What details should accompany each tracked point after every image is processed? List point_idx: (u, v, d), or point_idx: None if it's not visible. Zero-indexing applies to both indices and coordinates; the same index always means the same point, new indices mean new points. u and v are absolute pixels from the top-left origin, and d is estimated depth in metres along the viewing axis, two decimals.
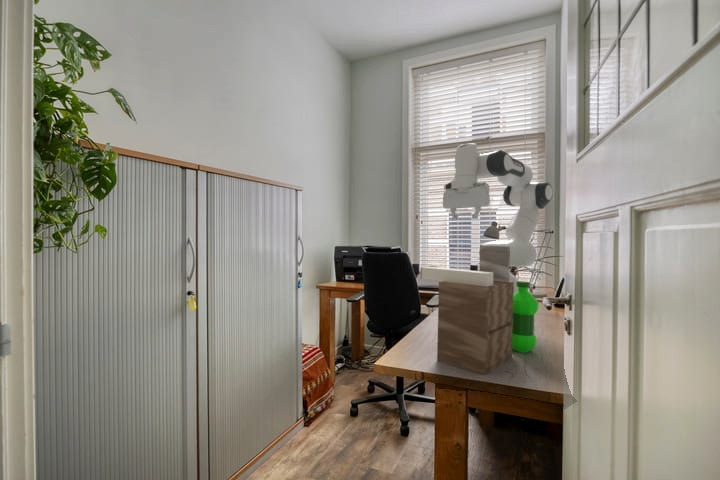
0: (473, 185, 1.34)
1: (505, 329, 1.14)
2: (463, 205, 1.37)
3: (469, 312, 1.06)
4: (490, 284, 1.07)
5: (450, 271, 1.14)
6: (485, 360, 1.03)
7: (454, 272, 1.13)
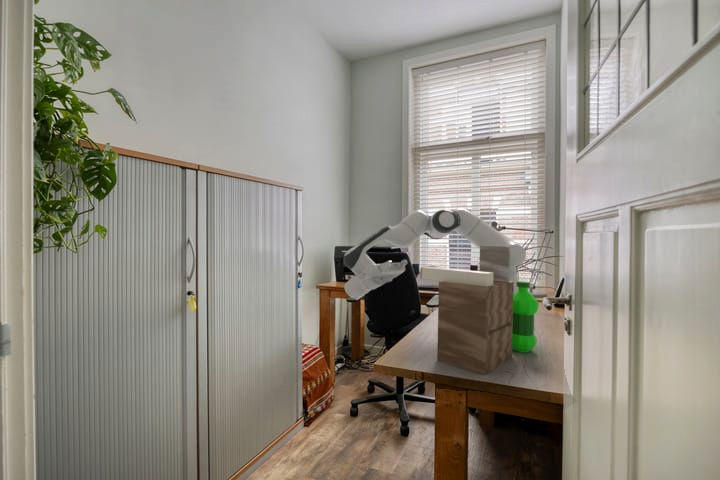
0: (369, 278, 1.36)
1: (505, 329, 1.14)
2: (389, 272, 1.33)
3: (469, 312, 1.06)
4: (490, 284, 1.07)
5: (450, 271, 1.14)
6: (485, 360, 1.03)
7: (454, 272, 1.13)
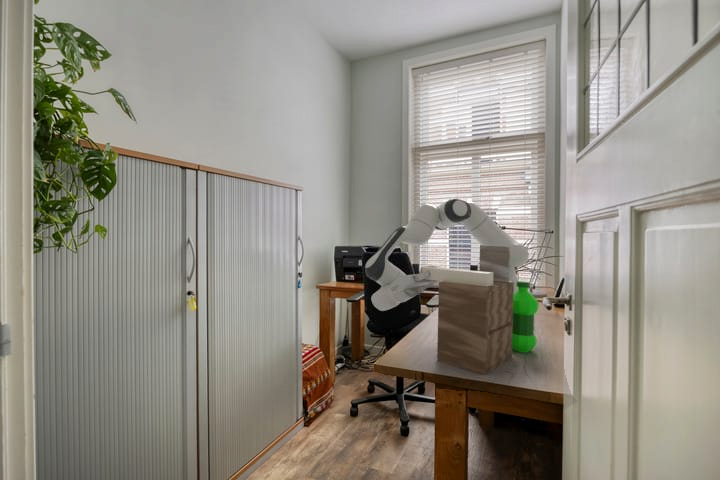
0: None
1: (505, 329, 1.14)
2: (423, 283, 1.23)
3: (469, 312, 1.06)
4: (490, 284, 1.07)
5: (450, 271, 1.14)
6: (485, 360, 1.03)
7: (454, 272, 1.13)
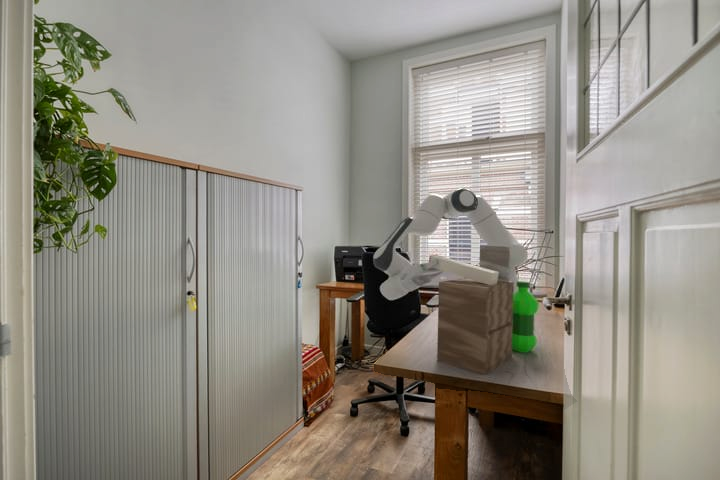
0: (409, 279, 1.29)
1: (505, 329, 1.14)
2: (431, 271, 1.26)
3: (469, 312, 1.06)
4: (493, 283, 1.10)
5: (457, 264, 1.17)
6: (485, 360, 1.03)
7: (461, 266, 1.16)
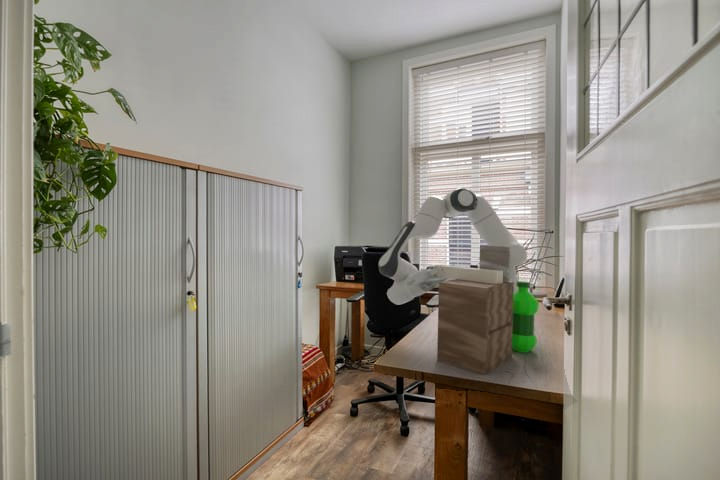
0: None
1: (505, 329, 1.14)
2: (438, 277, 1.30)
3: (469, 312, 1.06)
4: (499, 282, 1.13)
5: (462, 269, 1.21)
6: (485, 360, 1.03)
7: (466, 270, 1.20)
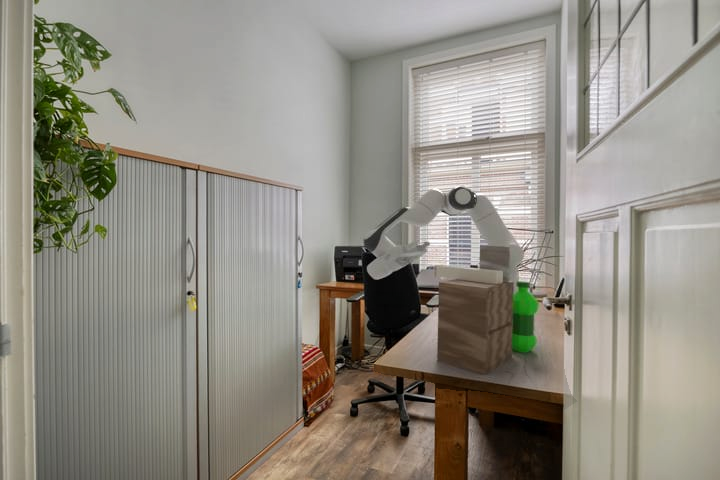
0: None
1: (505, 329, 1.14)
2: (413, 253, 1.38)
3: (469, 312, 1.06)
4: (499, 282, 1.13)
5: (462, 269, 1.21)
6: (485, 360, 1.03)
7: (466, 270, 1.20)
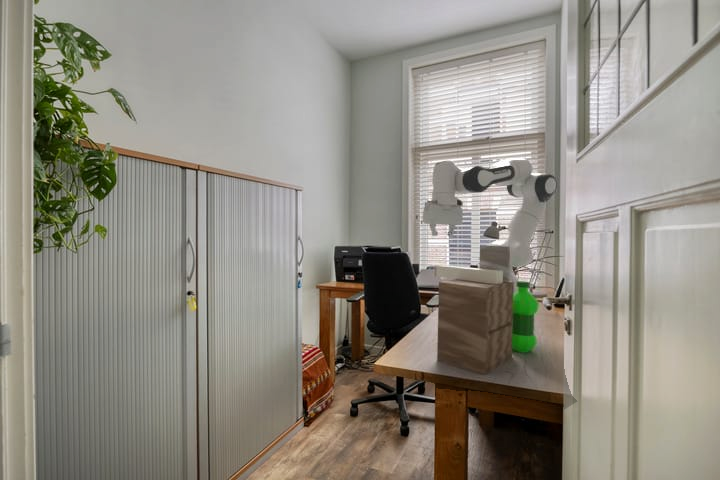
0: None
1: (505, 329, 1.14)
2: None
3: (469, 312, 1.06)
4: (499, 282, 1.13)
5: (462, 269, 1.21)
6: (485, 360, 1.03)
7: (466, 270, 1.20)
